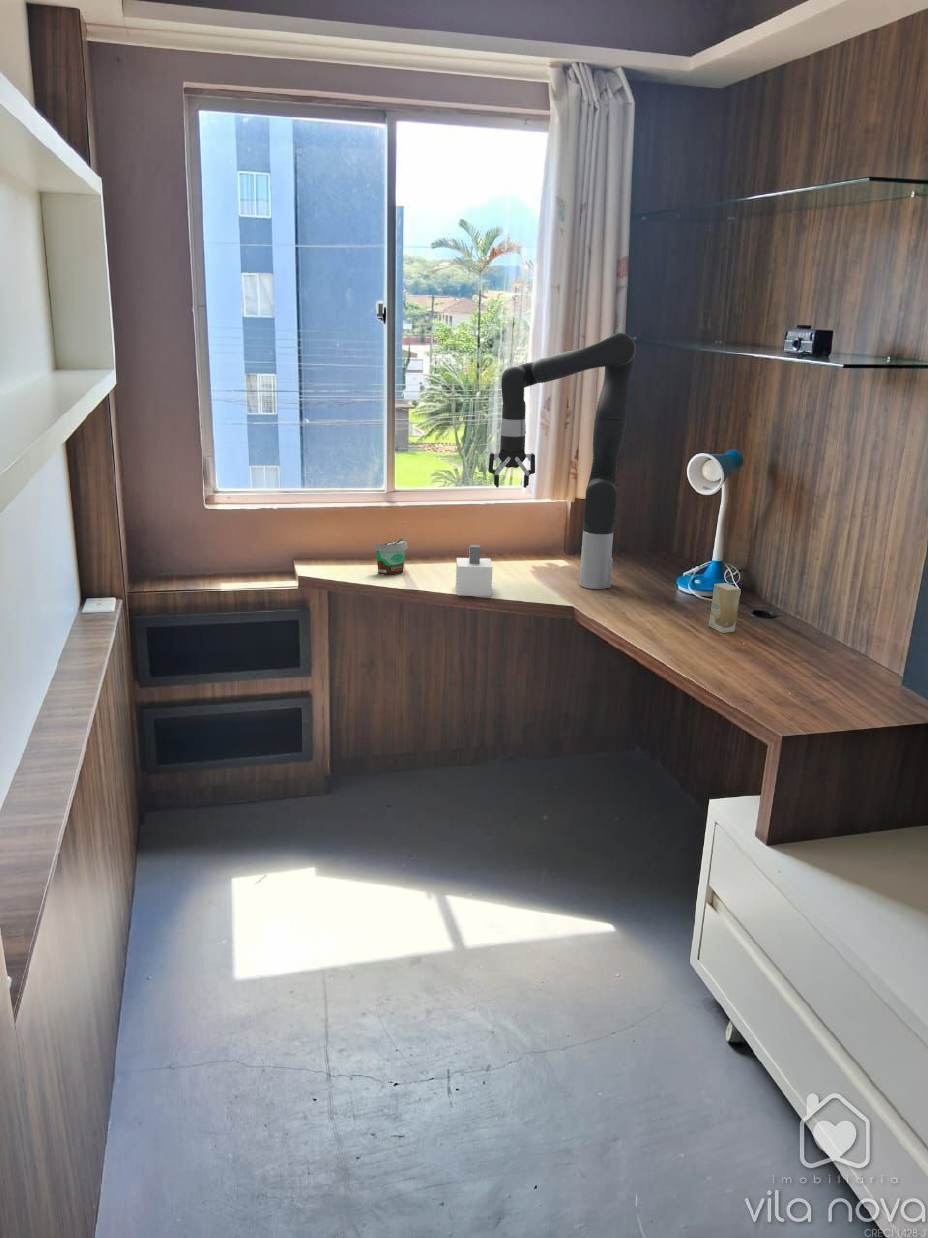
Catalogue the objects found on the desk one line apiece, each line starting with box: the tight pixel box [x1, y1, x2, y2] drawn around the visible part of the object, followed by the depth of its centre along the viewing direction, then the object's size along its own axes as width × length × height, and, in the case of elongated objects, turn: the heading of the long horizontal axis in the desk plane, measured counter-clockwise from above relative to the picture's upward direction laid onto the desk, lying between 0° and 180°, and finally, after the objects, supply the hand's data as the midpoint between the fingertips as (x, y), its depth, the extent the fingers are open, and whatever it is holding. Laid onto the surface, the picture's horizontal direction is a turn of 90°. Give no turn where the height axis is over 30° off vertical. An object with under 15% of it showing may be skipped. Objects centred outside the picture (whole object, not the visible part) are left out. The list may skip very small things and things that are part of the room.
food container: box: [374, 537, 408, 576], centre depth 299 cm, size 12×6×10 cm, turn 143°
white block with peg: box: [455, 544, 493, 597], centre depth 282 cm, size 10×10×14 cm
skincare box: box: [708, 582, 742, 634], centre depth 255 cm, size 6×4×12 cm
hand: (511, 487), depth 291 cm, fingers open, 8 cm apart
